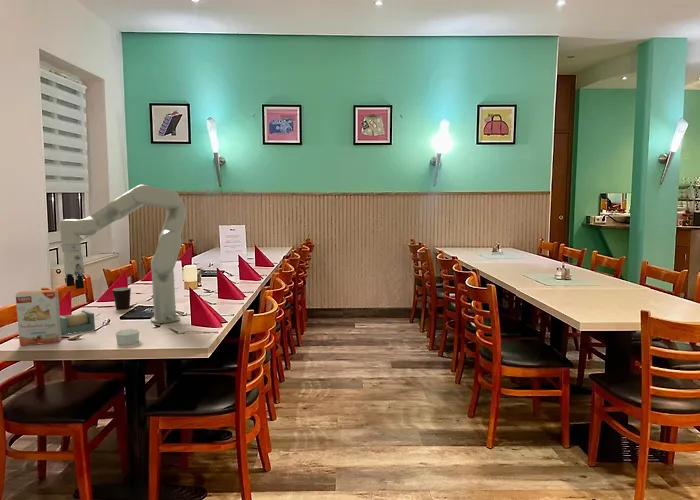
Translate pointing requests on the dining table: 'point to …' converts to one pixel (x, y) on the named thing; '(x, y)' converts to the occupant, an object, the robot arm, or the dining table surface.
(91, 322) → the roll holder
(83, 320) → the paper roll
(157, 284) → the robot arm
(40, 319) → the cracker box
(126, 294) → the coffee mug
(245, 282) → the dining table surface
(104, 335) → the dining table surface
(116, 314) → the dining table surface
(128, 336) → the ramekin
